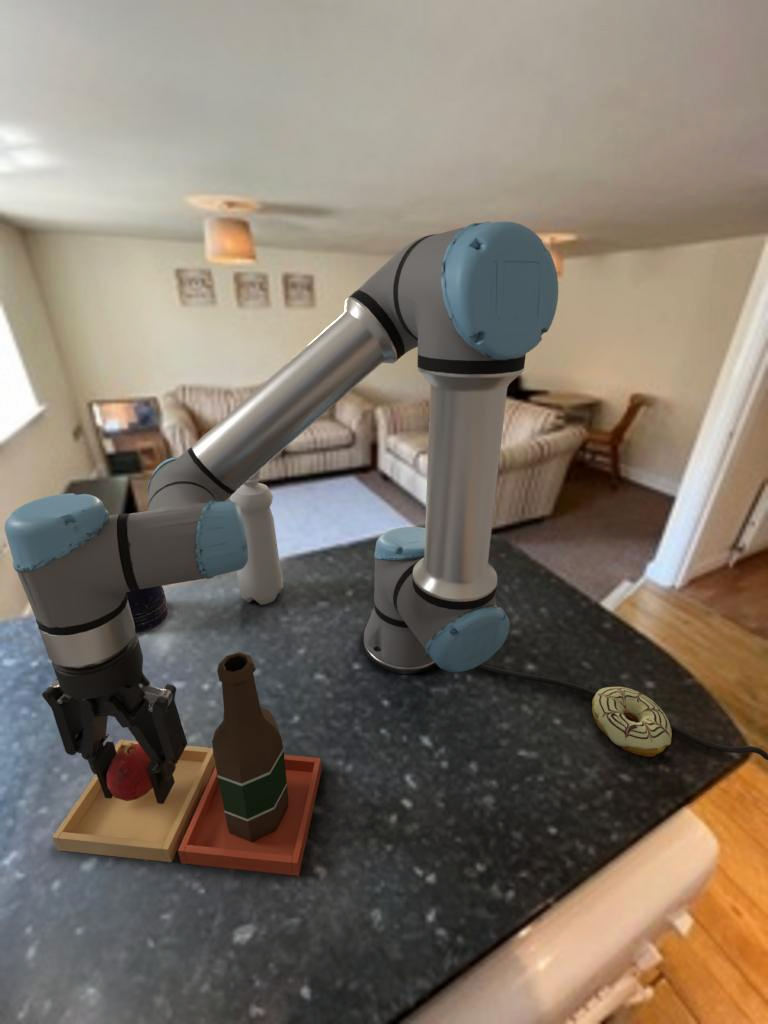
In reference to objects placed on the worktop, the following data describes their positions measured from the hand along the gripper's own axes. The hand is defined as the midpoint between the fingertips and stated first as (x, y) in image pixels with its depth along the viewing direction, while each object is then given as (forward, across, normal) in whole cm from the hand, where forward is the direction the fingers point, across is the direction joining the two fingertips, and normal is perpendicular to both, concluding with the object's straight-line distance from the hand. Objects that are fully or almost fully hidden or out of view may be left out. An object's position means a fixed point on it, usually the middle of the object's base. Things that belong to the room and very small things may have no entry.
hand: (140, 789), depth 55 cm
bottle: (+2, -1, -44) cm, 44 cm away
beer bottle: (+2, -15, 0) cm, 15 cm away
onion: (0, 0, 0) cm, 0 cm away
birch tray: (+2, 0, 0) cm, 2 cm away
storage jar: (+3, +20, -34) cm, 40 cm away
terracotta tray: (+2, -15, 0) cm, 15 cm away
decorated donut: (+2, -66, -17) cm, 68 cm away
